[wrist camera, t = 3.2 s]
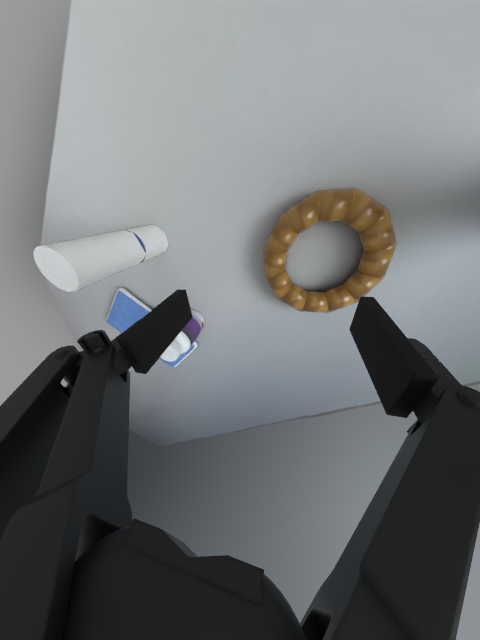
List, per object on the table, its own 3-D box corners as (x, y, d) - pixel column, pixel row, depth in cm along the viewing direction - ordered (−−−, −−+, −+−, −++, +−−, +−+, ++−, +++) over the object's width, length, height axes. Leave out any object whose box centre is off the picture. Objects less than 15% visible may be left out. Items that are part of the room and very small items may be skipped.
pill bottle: (189, 302, 34) (158, 334, 26) (210, 321, 35) (187, 356, 27) (175, 317, 37) (144, 349, 29) (196, 334, 38) (171, 369, 30)
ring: (410, 183, 19) (428, 180, 16) (365, 308, 27) (372, 319, 24) (265, 195, 22) (262, 195, 20) (265, 303, 30) (262, 312, 28)
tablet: (200, 343, 39) (197, 347, 38) (175, 366, 46) (173, 370, 45) (122, 283, 35) (117, 286, 34) (108, 319, 42) (104, 322, 41)
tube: (142, 246, 30) (41, 279, 18) (144, 219, 27) (26, 237, 15) (166, 258, 30) (81, 299, 18) (169, 232, 27) (74, 260, 15)
